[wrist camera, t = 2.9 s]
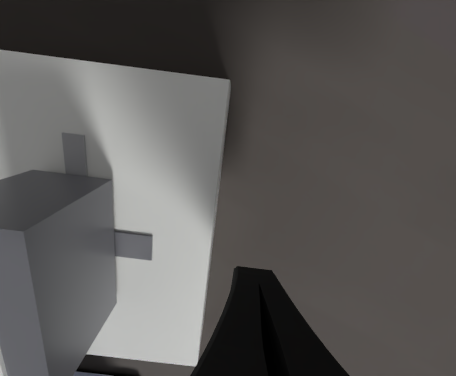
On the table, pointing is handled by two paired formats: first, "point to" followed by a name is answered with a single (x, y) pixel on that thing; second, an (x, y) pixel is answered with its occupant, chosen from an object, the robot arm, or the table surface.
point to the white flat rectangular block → (130, 182)
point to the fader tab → (54, 270)
